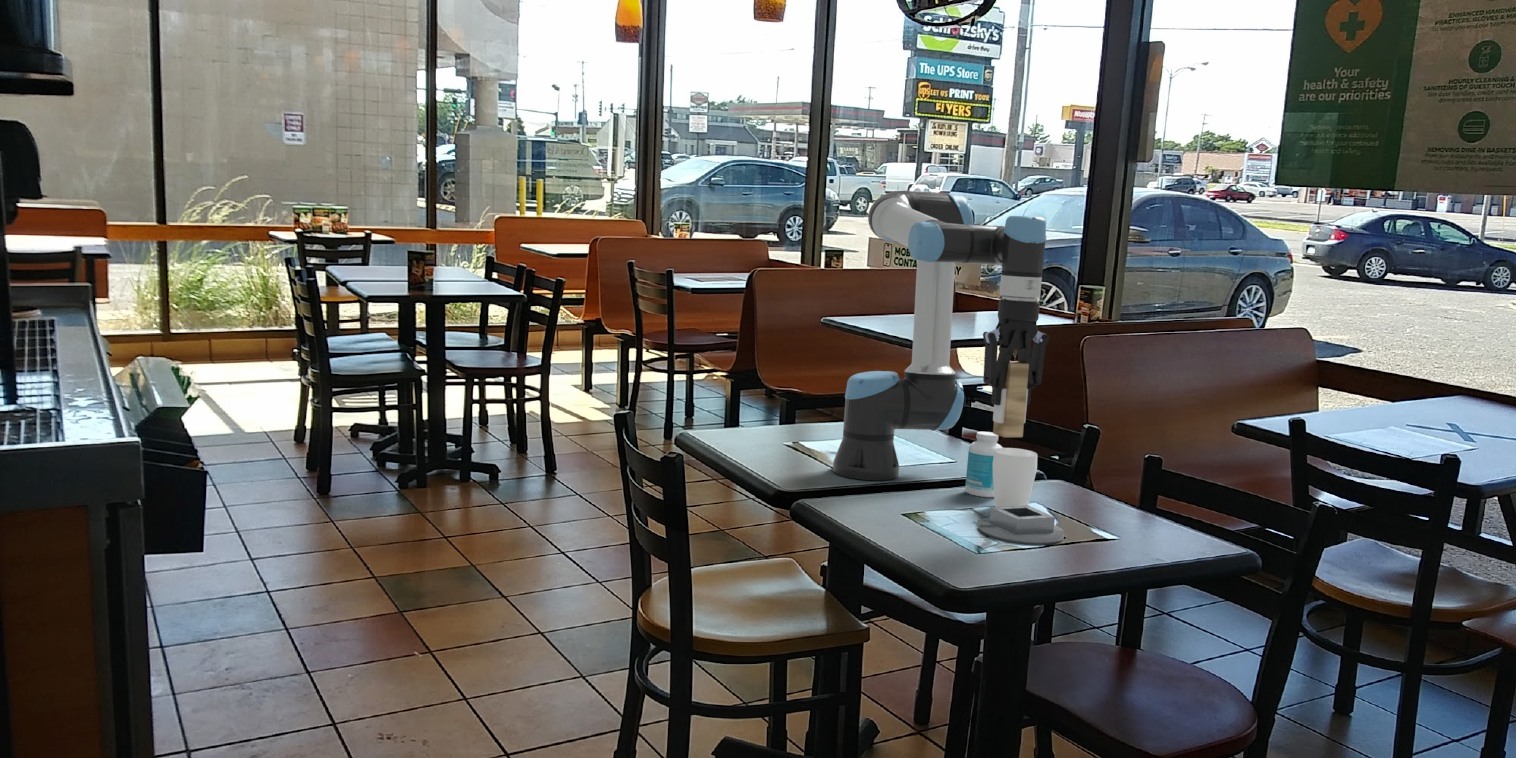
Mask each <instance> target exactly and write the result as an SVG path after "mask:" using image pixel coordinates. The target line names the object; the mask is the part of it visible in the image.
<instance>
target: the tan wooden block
mask: <svg viewBox="0 0 1516 758" xmlns="http://www.w3.org/2000/svg"><path fill="white" fill-rule="evenodd" d="M1028 371H1029V364H1027V363H1022V362H1019V361H1018V360H1015V361H1013V360H1010V363H1008V371H1007V375H1006V379H1005V382H1004V386H1003V388H1004V389H1007V392H1006V404H1005V415H1004V423H998V422H995V421H993V428H992V430H993V431H992V433H993V434H996V435H999V436H998V437H1002V438H1023V437H1024V425H1025V423H1024V416H1025V405H1026V394H1027V382H1028Z"/></svg>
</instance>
